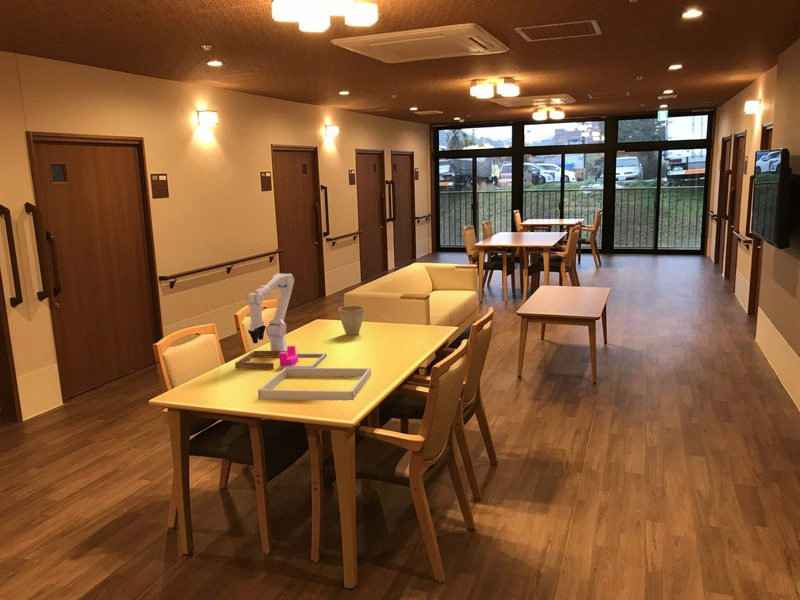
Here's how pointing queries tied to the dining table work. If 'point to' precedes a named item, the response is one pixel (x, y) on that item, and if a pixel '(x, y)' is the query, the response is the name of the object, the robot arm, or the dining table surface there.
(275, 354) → the walnut stall
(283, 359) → the toy block
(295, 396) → the frame
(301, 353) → the frame
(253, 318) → the robot arm
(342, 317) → the plant pot
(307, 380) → the dining table surface
